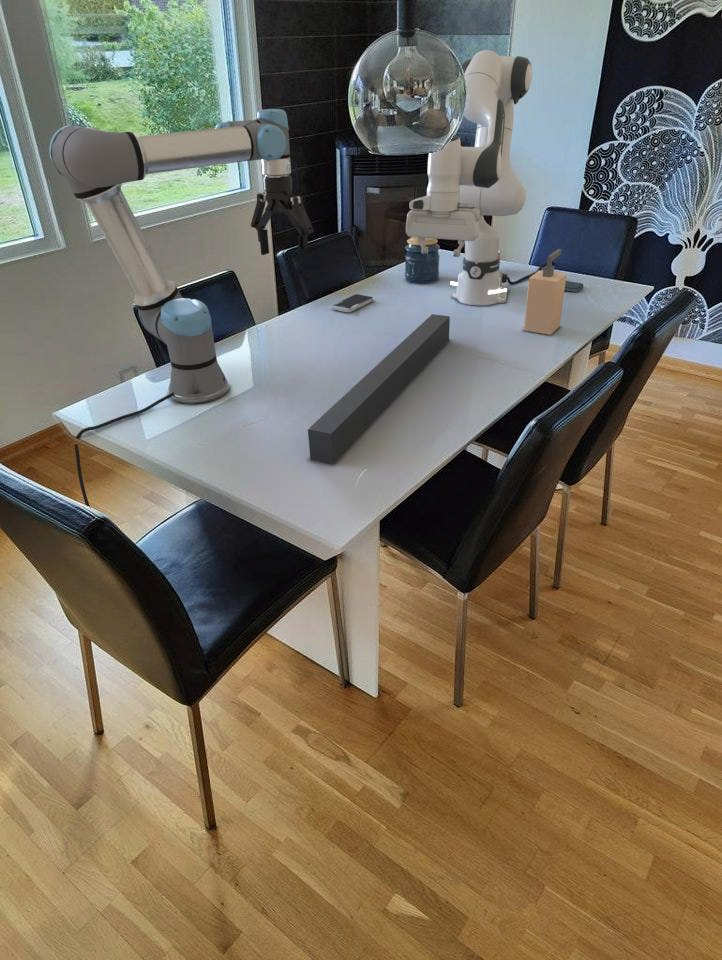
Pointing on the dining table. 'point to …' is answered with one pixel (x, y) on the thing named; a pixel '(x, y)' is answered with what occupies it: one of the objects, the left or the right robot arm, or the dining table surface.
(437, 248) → the canister
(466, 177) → the right robot arm
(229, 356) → the dining table surface
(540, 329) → the soap dispenser
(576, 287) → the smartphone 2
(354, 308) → the smartphone
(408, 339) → the beam
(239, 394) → the dining table surface
